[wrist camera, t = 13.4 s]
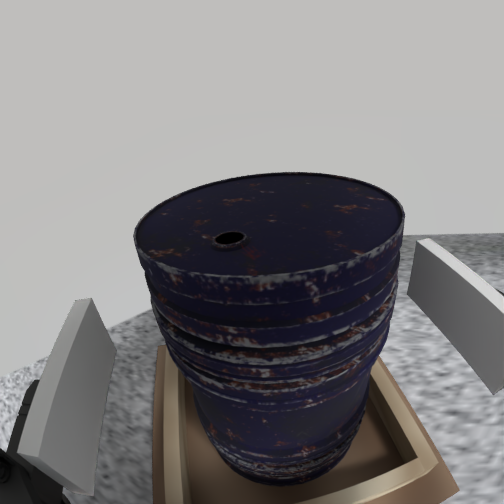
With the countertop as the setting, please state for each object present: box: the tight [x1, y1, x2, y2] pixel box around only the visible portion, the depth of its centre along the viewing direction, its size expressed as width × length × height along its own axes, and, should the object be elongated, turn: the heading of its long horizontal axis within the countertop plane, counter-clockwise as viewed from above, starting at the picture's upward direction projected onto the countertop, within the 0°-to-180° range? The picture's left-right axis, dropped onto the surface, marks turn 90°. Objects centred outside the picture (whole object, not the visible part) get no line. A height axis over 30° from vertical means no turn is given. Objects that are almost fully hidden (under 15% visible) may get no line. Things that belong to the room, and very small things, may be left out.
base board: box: [152, 345, 460, 504], centre depth 17 cm, size 18×20×3 cm
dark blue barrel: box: [133, 172, 405, 487], centre depth 14 cm, size 10×10×15 cm
